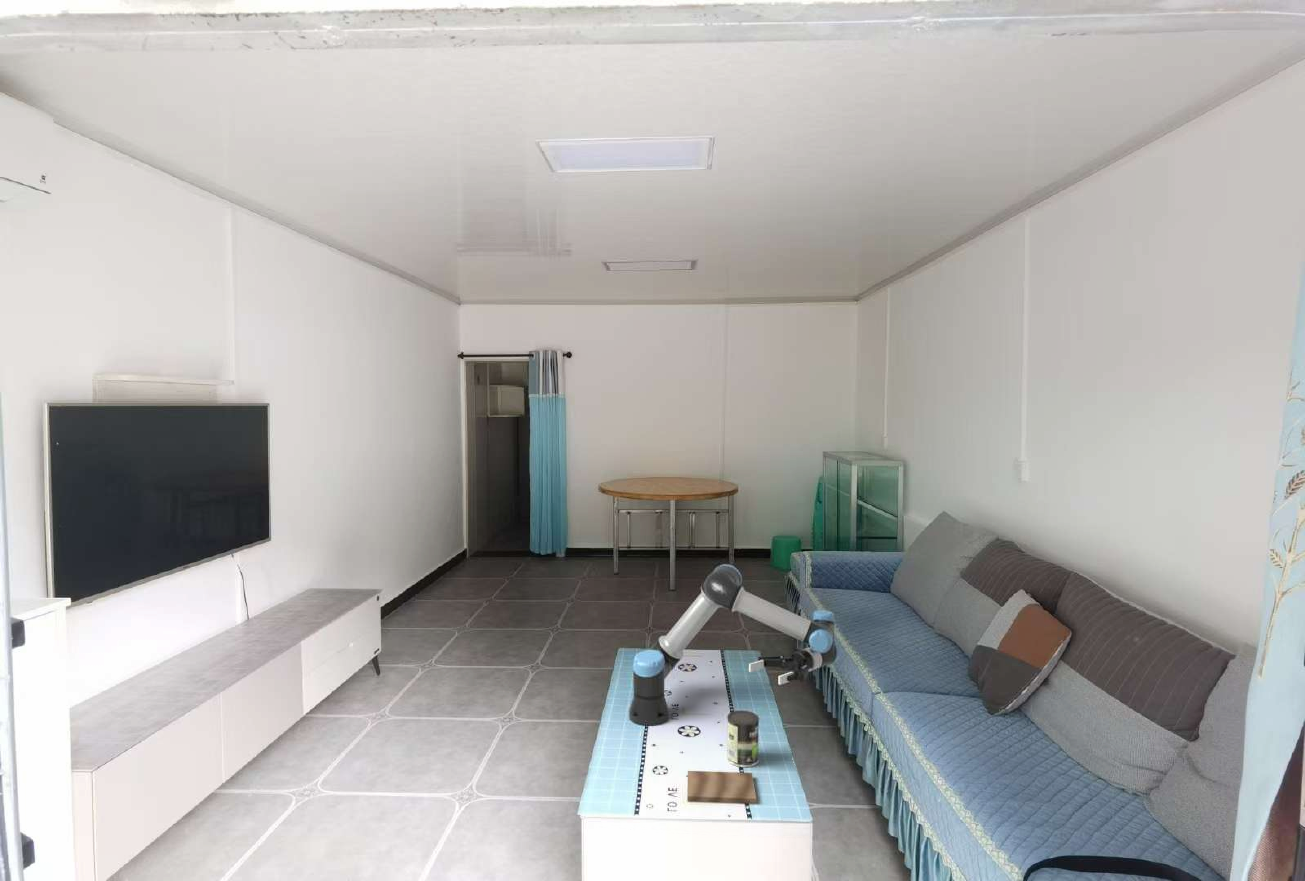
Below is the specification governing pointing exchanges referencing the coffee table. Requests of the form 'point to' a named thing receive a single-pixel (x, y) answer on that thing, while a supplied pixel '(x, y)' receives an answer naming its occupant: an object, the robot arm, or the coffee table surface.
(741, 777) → the walnut board
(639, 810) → the coffee table surface
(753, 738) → the coffee can
